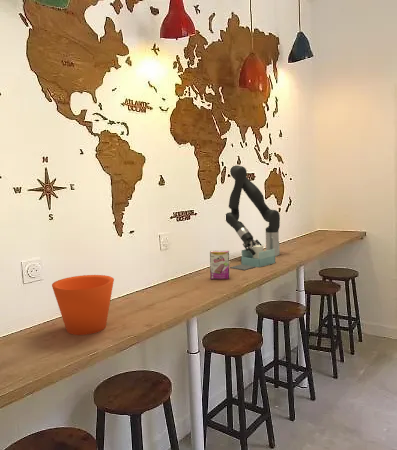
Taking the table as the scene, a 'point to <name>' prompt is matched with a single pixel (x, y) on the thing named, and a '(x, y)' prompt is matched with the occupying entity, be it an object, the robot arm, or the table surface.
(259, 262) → the carton
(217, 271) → the candy bar box
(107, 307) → the flowerpot
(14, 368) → the table surface
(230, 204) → the robot arm
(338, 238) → the table surface
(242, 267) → the mat
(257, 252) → the block
